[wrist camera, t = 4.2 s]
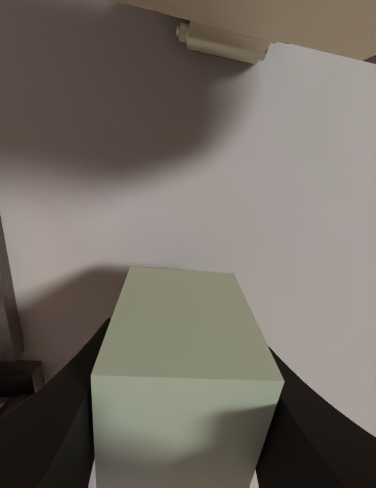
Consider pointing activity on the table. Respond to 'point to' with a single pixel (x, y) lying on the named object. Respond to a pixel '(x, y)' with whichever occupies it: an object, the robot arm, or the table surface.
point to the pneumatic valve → (272, 25)
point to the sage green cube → (181, 384)
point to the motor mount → (13, 346)
